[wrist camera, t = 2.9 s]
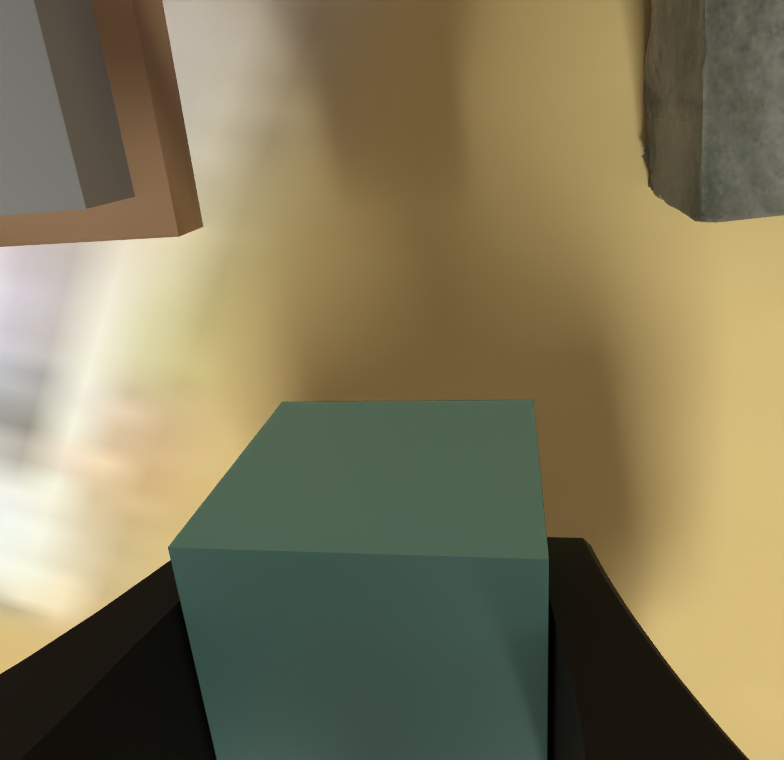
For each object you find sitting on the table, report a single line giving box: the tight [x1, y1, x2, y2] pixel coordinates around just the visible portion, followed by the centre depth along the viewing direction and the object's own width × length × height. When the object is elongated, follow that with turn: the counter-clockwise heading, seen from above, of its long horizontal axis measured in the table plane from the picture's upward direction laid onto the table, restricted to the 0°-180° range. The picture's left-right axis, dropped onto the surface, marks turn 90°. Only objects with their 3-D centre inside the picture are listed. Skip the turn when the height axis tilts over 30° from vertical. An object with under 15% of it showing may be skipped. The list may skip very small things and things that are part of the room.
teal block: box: [168, 400, 549, 760], centre depth 9 cm, size 4×4×4 cm
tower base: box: [0, 0, 203, 247], centre depth 16 cm, size 8×8×2 cm
